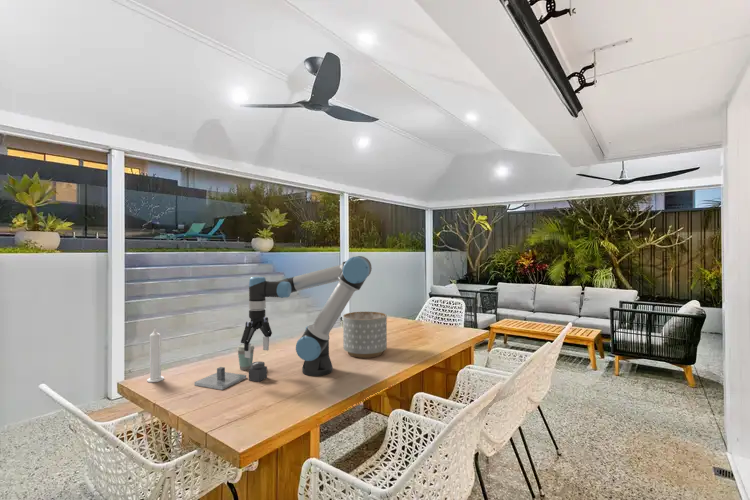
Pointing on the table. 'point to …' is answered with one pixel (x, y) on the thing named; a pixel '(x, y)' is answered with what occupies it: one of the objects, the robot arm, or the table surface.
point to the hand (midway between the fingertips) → (257, 353)
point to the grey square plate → (220, 379)
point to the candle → (155, 358)
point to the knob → (257, 371)
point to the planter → (365, 334)
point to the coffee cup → (244, 362)
